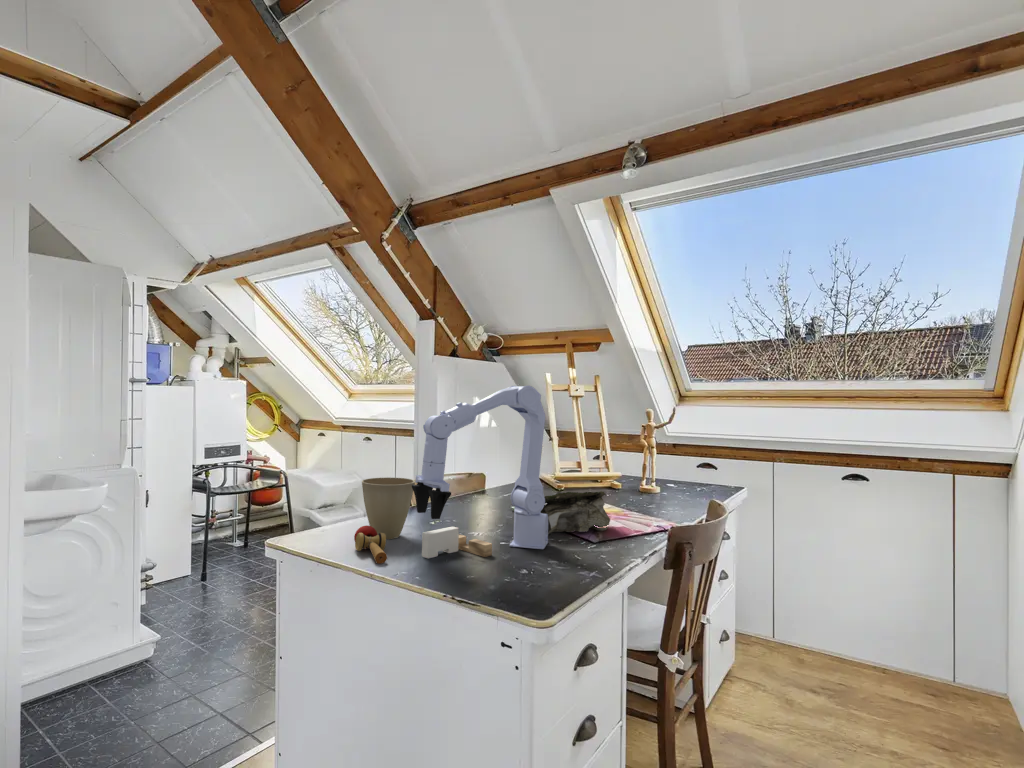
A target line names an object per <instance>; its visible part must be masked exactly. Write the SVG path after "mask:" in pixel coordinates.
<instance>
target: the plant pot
mask: <svg viewBox="0 0 1024 768" xmlns="http://www.w3.org/2000/svg"><path fill="white" fill-rule="evenodd" d="M361 485H362V486H361V487H362V488H361V489H362V497H363V503H364V509H365V513H366V517H367V521H368V526H371V527H373V528H374V529H375V530H376V531H377V534H379V533H385V535H386V541H387V540H393V539H397V538H399V537H400V535H401V534H402V530H403V528H404V526H405V523H406V521H407V517H408V514H409V511H410V508H411V504H412V499H413V494H414V491H413V489H412V485H416V484H415V480H414V479H412V478H407V477H406V478H405V477H391V476H390V477H388V476H387V477H371V478H366V479H362V480H361Z"/></svg>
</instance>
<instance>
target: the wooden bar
mask: <svg viewBox="0 0 1024 768" xmlns="http://www.w3.org/2000/svg"><path fill="white" fill-rule="evenodd" d="M458 550H460V551H462V552H467V553H471V554H473V555H477V556H480V557H482V558H486V557H487V558H488V557H491V556H493V543H491V542H487V541H484V540H481V539H477V538H473V539H470V540H468V543H467V536H466V535H463V534H460V533H459V539H458Z"/></svg>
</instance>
